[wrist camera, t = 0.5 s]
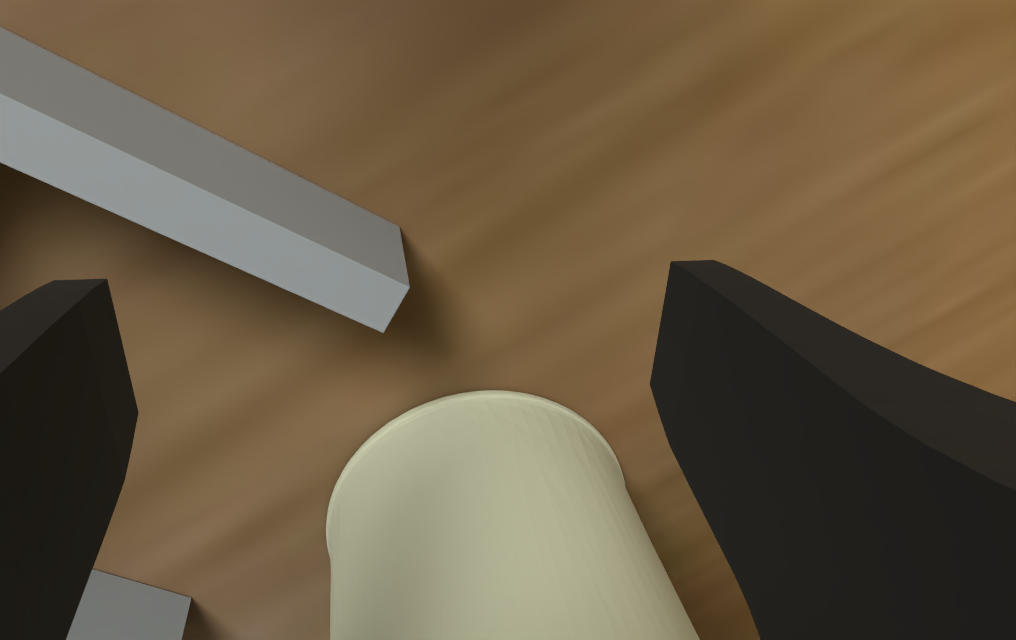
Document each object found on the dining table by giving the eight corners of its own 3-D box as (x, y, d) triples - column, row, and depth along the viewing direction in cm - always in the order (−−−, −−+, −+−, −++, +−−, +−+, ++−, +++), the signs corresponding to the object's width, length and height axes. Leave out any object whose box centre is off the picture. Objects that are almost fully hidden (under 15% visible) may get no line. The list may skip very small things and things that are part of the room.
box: (175, 626, 25) (138, 775, 21) (-321, 488, 21) (-505, 641, 16) (399, 226, 21) (413, 306, 17) (-161, -54, 17) (-347, -47, 12)
